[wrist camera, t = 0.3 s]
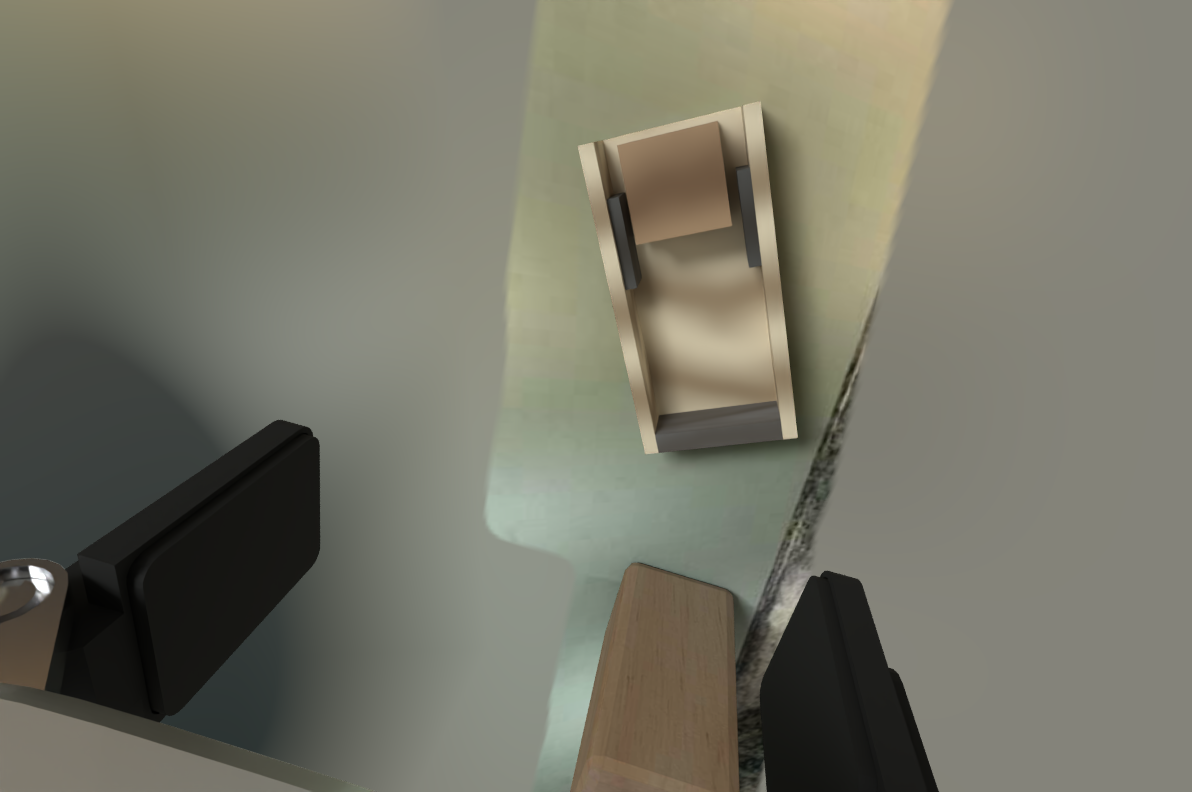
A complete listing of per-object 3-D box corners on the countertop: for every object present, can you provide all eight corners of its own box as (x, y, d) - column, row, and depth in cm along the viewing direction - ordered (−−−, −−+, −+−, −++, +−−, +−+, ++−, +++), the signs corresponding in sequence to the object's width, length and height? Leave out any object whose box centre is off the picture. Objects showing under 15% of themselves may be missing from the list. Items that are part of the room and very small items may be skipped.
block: (736, 587, 54) (746, 818, 36) (703, 662, 59) (697, 902, 41) (629, 555, 55) (586, 766, 37) (604, 631, 59) (555, 853, 41)
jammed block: (626, 143, 40) (616, 145, 36) (717, 120, 38) (717, 120, 35) (643, 234, 42) (636, 244, 39) (730, 216, 41) (732, 225, 37)
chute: (590, 143, 41) (577, 146, 37) (756, 102, 38) (760, 100, 35) (650, 429, 49) (645, 454, 46) (791, 413, 46) (797, 438, 43)
